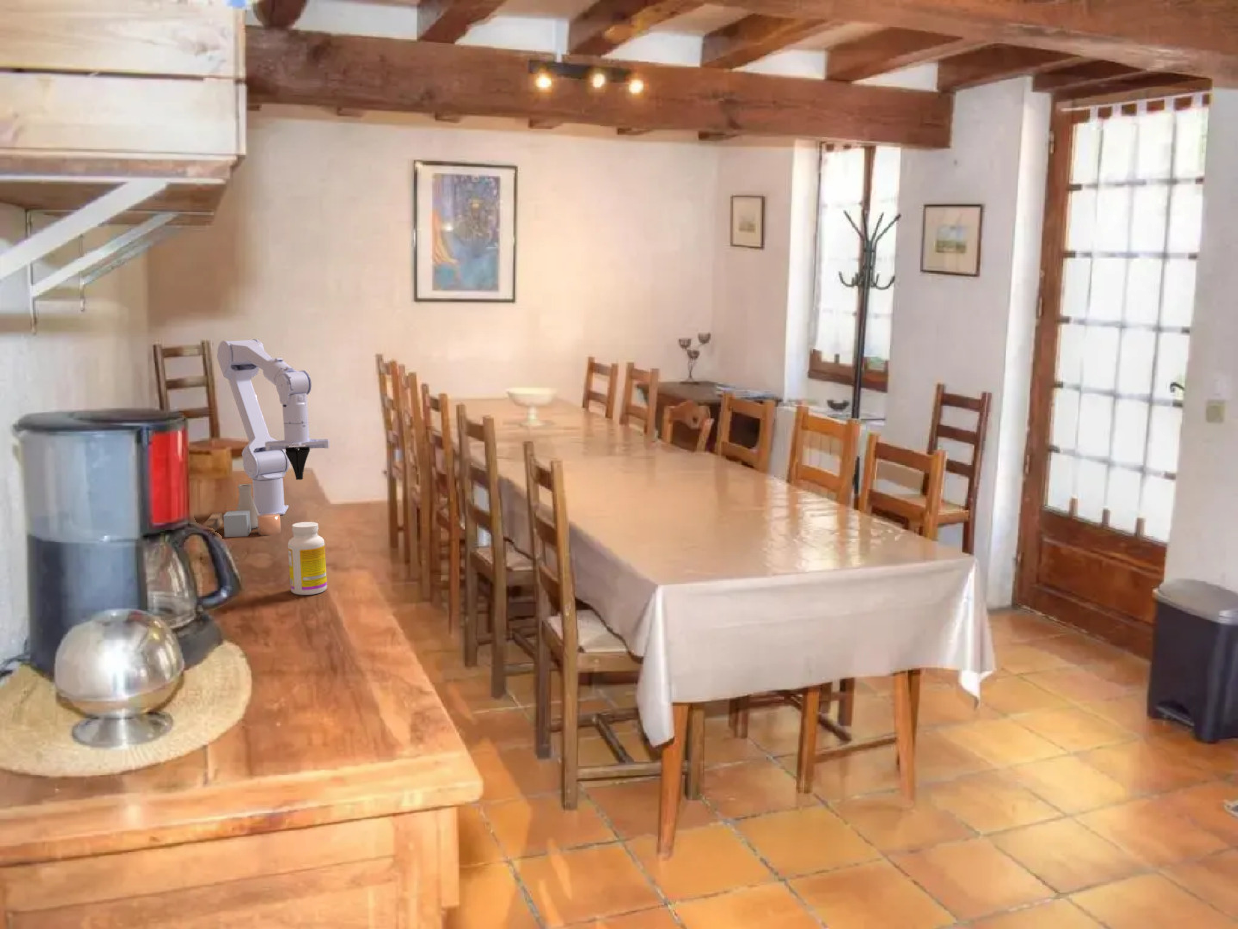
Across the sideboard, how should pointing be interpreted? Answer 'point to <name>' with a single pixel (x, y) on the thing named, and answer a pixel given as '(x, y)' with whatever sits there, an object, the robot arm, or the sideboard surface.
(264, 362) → the robot arm
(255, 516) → the flask
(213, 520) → the walnut rail
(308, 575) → the supplement bottle
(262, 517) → the peach egg shape
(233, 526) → the slate block
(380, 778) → the sideboard surface
